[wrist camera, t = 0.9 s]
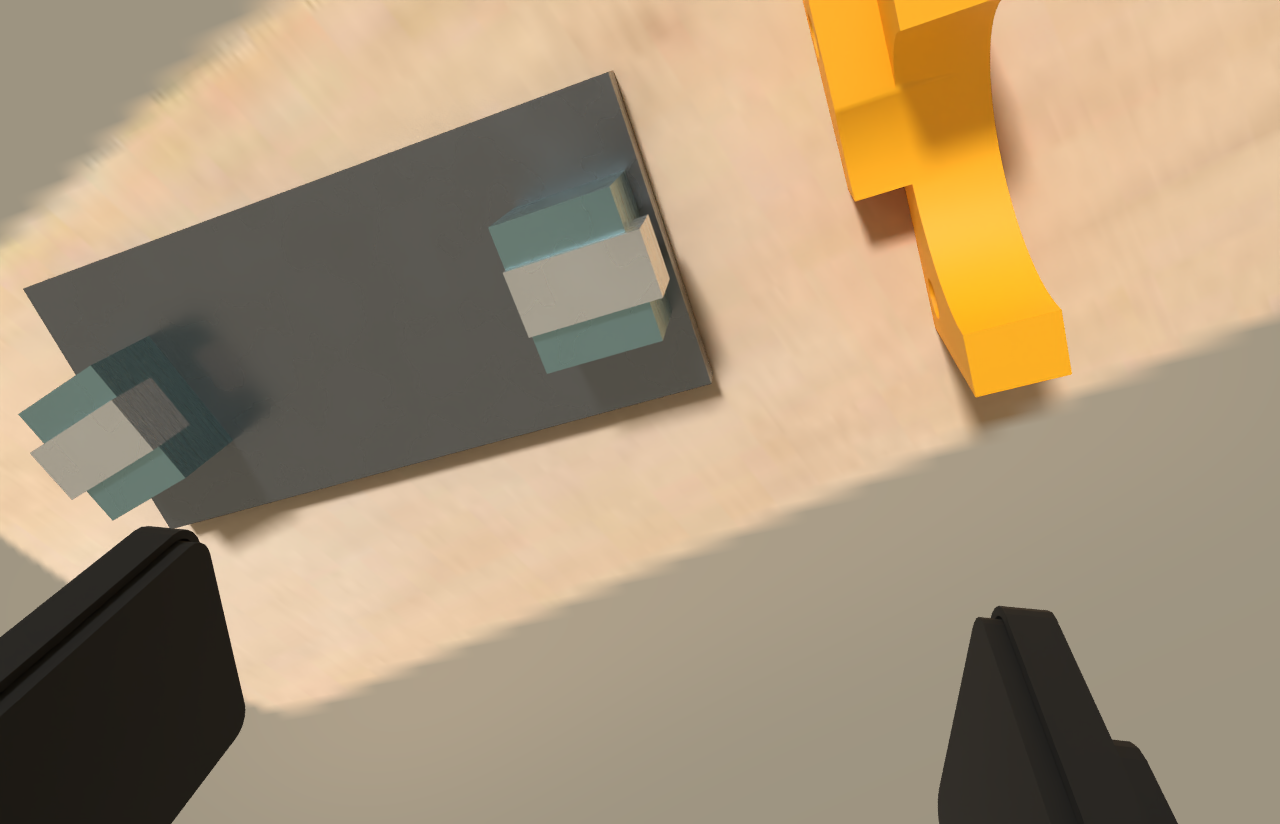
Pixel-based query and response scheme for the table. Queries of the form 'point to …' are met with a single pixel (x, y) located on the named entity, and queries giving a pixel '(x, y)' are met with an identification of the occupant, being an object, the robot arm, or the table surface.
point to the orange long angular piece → (941, 173)
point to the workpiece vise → (373, 318)
